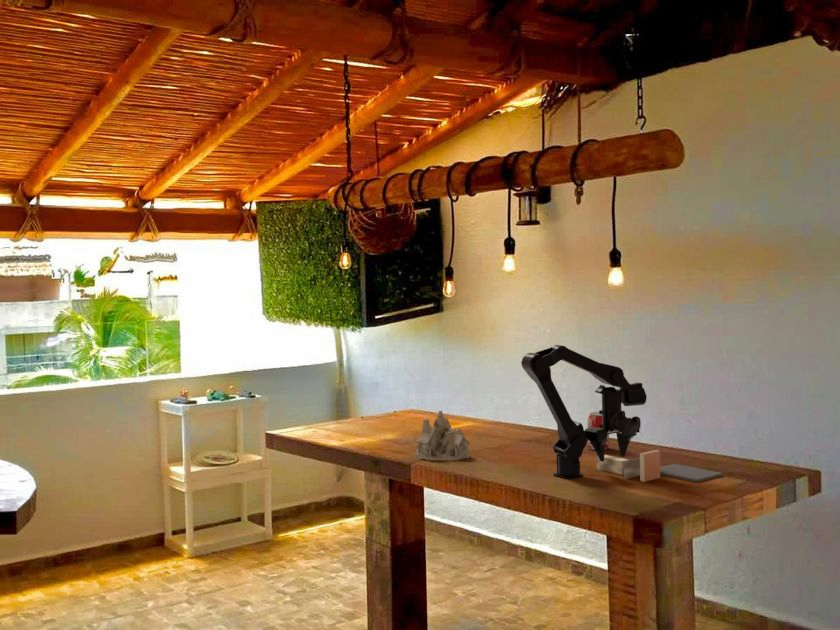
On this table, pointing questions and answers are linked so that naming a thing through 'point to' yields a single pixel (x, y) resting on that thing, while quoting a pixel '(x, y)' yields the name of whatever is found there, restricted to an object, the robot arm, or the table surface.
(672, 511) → the table surface
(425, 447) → the ceramic cottage
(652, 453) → the tile
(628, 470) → the cream saddle block
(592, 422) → the soda can
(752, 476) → the table surface
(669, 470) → the tool mat
